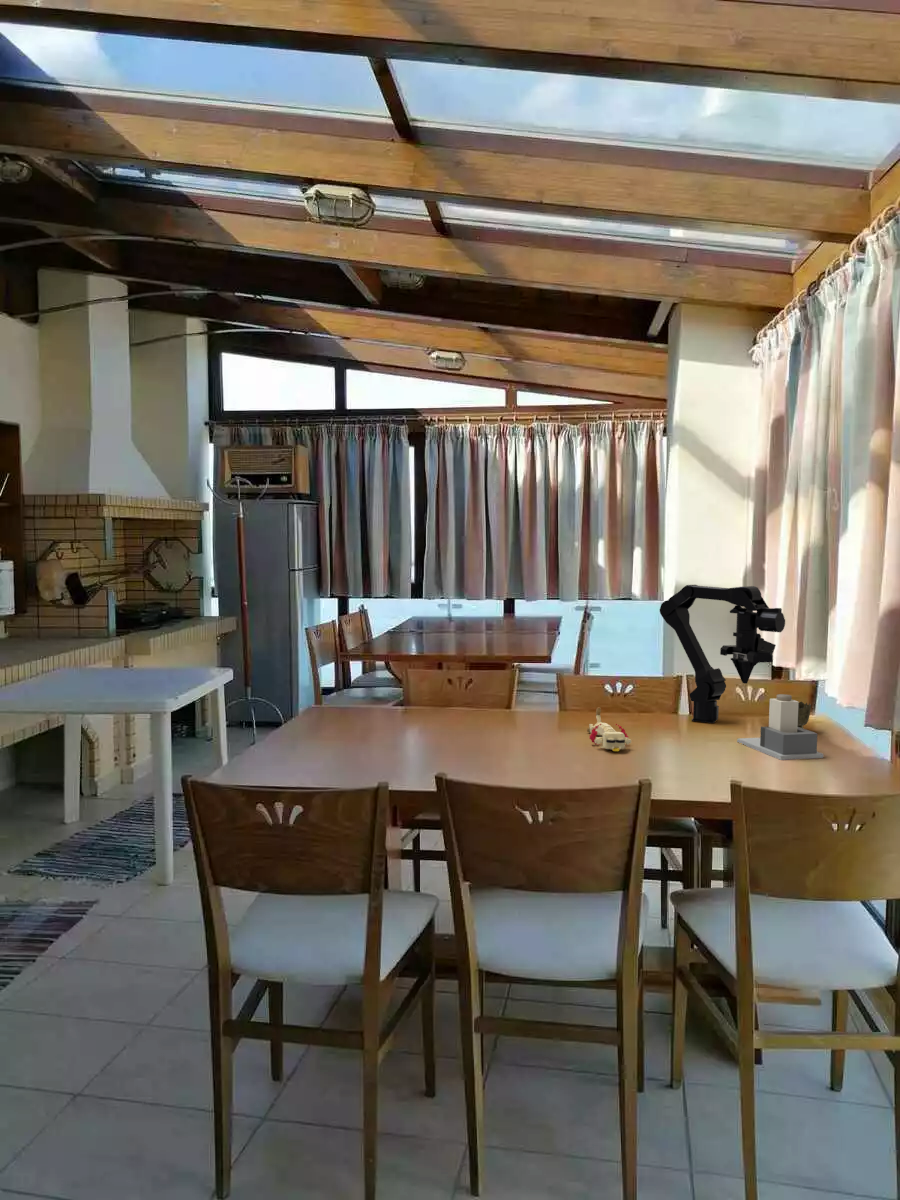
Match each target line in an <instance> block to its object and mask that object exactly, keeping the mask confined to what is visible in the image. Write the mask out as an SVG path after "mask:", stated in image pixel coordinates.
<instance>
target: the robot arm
mask: <svg viewBox="0 0 900 1200" xmlns="http://www.w3.org/2000/svg"><path fill="white" fill-rule="evenodd" d="M696 599H701V600H711V601H712V600H713V601H714V600H715V601H724V602H727V603H730V604H732V605H734V607H733V608H732V609H730V610H729V614H736V630H735V632H732V633H733V634H732V636H733V637H735V644H731V645H730V644H728V645H727V644H726V645H722V646H721V647H720V651H719V654H720V655H721V656H728V655H732V657H730V661H731V662H732V663H733V666H734V667H735V669H736V671H737V674H738V676H739V678H740V680H741V683H742V684H744V685H745V684H748V683H749V682H748V681H749V680H750V677H751V675H752V672H753V670H754V667H756V665H758V664H760V663H774V655H773V654H774V653H775V652H774V651H775V649H776V644H775V643H772V642H769V641H767V640H765V639H764V638H762V635H761V633H758V631H760V632H768V633H769V632H770V633H782V632H783V631H784V629H785V625H786V618H785V615H784V613H783V612H782V610H783V609H782V607H773V608H772V607H769V606H768V604H767V603H766V601H765V600H764V598H763V597H762V592H761V590H760V589H759V587H757V586H754V585H751V586H749V585H748V586H747V585H746V586H745V585H744V586H735V587H718V586H705V585H704V586H703V585H697V584H687V585H685V586H683V587H682V588H681V589H680V590H679V591H678V592H676V593H675V594H673V595H672V596H670V597H669V598H668V599H667V600H665V601H663V602H662V603H661V604H660V607H659V613H660V616H661V618H662V619H663V620H664V622H665V623H666V624H667V625H669V627H670V628H672V629H673V630H674V632H675V634H676V635H677V638H678V640H679V642H680V643H681V645H682V648H683V650H684V653H685V654H686V657H687V659H688V660H689V663H690V664H691V667H692V668H693V670H694V680H695V681H694V684H695V686H696V687H695V688H694V689H693V690H691V692H690V693H689V698H690V701H691V702H693V714H692V715H693V717H692V718H691V722H696V721H701V722H700V723H705V722H708V724H715V723H716V722H717V721H718V720H719V711H720V709H719V705H718V701H719V700H720V699H721V697H722V695H723V694H724V693H725V691H726V688H727V684H726V681H727V679H726V678H725V677H724V675H723V673H722V670H721V669H720V668H719V667H718V668H714V667H713V666H712V665H710V663H709V660H708V659H707V657H706V654H705V652H704V650H703V648H702V646H701V644H700V642H699V640H698V638H697V636H696V634H695V633H694V630H693V627H691V623H690V617H691V616H690V612H689V609H690V608H691V607H692V605H694V602H695V601H696ZM716 720H717V721H716ZM715 721H716V722H715Z"/></svg>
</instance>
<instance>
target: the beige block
mask: <svg viewBox="0 0 900 1200" xmlns="http://www.w3.org/2000/svg"><path fill="white" fill-rule="evenodd" d="M792 697H793V696H792V695H791V694H787V693H786V694H783V693H780V694H776V698H769V711H768V712H769V713H768V727H771V728H773V729H776V730H779V731H782V732H785V733H797V728H798V703H799V701H797V700H795V699H792Z"/></svg>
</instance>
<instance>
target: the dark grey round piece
mask: <svg viewBox="0 0 900 1200" xmlns="http://www.w3.org/2000/svg"><path fill="white" fill-rule="evenodd" d="M811 709H812V704H811V703H810V702H809V703H808V702H806V703H804V702H803V701H800V702H798V727H800V728H803V729H804V726H806V725H807V724H808V723H809V720H810V715H811Z"/></svg>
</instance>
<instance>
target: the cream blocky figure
mask: <svg viewBox="0 0 900 1200" xmlns="http://www.w3.org/2000/svg"><path fill="white" fill-rule="evenodd" d="M595 711H596V712H595V717H596V723H595V724H593V723H589V724H588V728H586V732H587V733H589V740H591V743H593V744H594V745H597V746H599V745H600V744H602V745H600V746H599V747H600V748H601V749H606V750H612V751H613V752H620V750H624V749H626V745H630V744H632V739H630V738H629V736H628V734H627V733H626V729H625V728H623V726H621V725H619V724H617V723H615V726H617V727H618V729H619V730H620V731H616V730H615V729H614V728H613V727H612V726H611V725H610V724H608V723H606V722H602V718H601V714H602V708H601V707H596V710H595ZM597 736H599V737H597Z"/></svg>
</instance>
